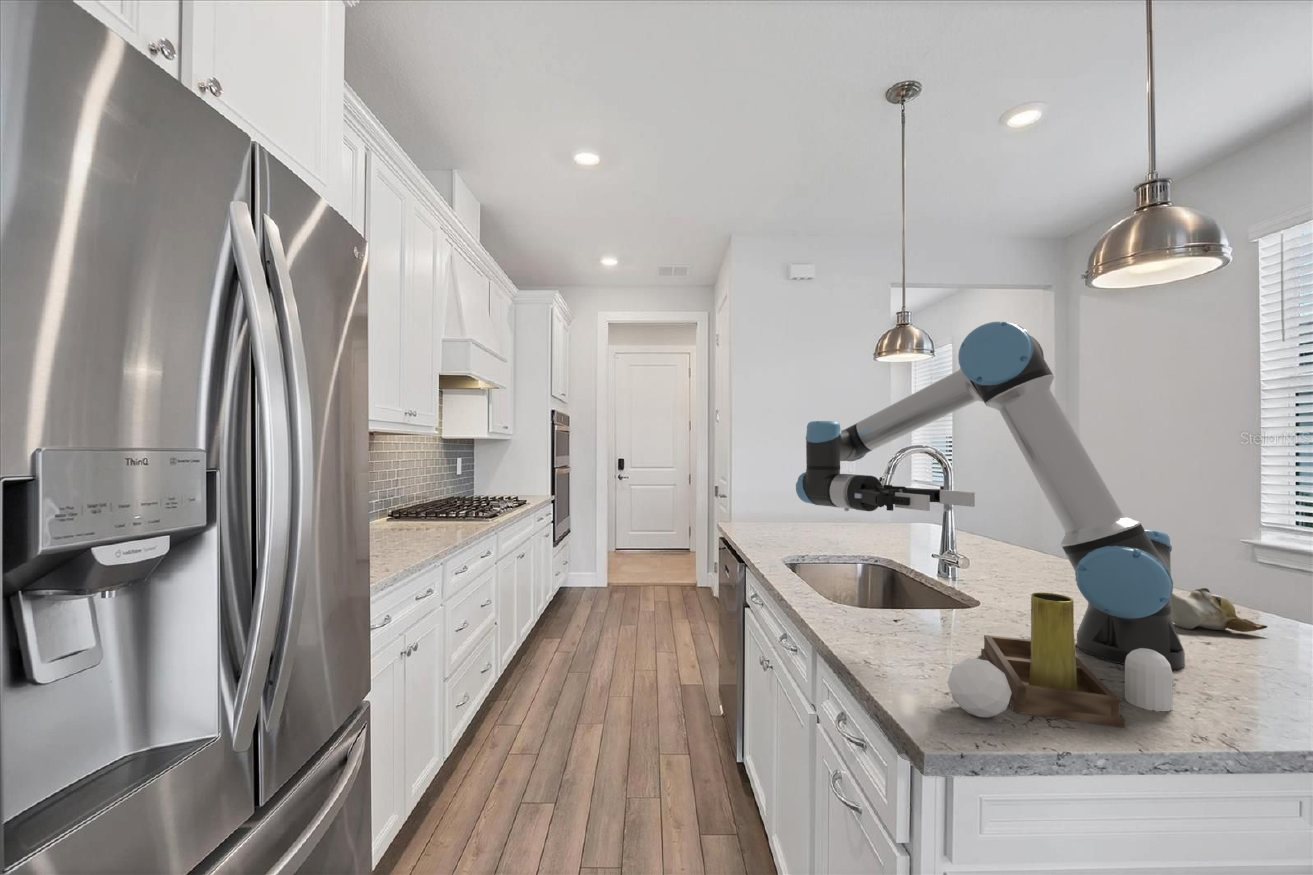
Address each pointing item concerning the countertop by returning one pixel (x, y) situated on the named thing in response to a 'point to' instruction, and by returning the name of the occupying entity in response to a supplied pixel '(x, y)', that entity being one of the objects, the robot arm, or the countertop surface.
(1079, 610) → the countertop surface
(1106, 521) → the robot arm
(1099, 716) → the tray
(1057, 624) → the vase
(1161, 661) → the white dome-topped block
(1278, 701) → the countertop surface
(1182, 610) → the ceramic sculpture
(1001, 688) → the ball
